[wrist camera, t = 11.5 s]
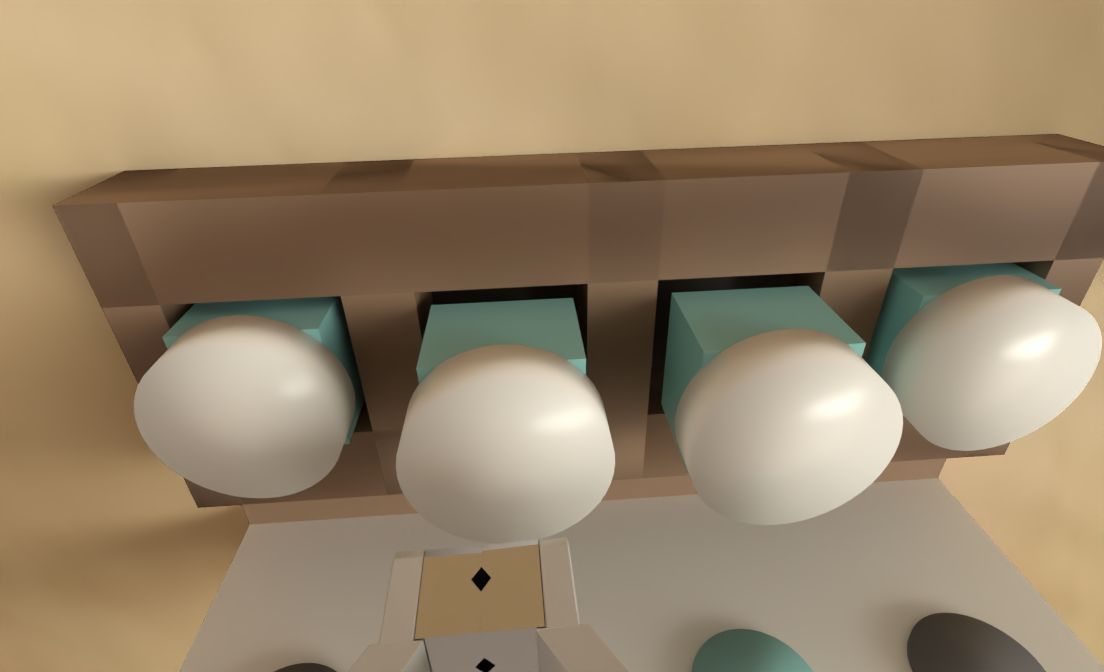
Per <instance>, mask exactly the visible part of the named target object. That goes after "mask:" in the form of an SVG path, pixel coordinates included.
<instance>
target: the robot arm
mask: <svg viewBox="0 0 1104 672" xmlns="http://www.w3.org/2000/svg"><path fill="white" fill-rule="evenodd" d="M348 672H629V671H628V670H627V669H626V667H625V666H624V665H623V664H622V663H621V661H620V660H619V659H618V658H617V657H616V656H615V654H614V653H613V652H612V651H611V650H610V648H609V647H608V646H607V645H606V644H605V643H604V641H603V640H602V639H601V638H600V637H599V635H598V634H597V633H596V632H595V631H594V630H593V628H592V627H591V626H590V625H589V624H580V621H579V613H578V606H577V599H576V592H575V584H574V577H573V570H572V563H571V555H570V548H569V542H568V540H567V538H566V537H565V538H555V539H544V540H539V542H538V539H536V540H527V541H517V542H507V543H498V544H488V545H483V546H479V547H463V548H446V549H430V550H416V551H404V552H397V553H396V555H395V557H394V559H393V562H392V568H391V574H390V580H389V585H388V591H387V597H386V603H385V608H384V614H383V620H382V626H381V631H380V637H379V643H378V644H375V645H369V646H368V647H367V649H366V650H365V651H364V652H363V654H362V655H361V656H360V657H359V659H358V660H357V661H356V663H355V664H354V665H353V666H352V668H351V669H350V670H349V671H348Z"/></svg>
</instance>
